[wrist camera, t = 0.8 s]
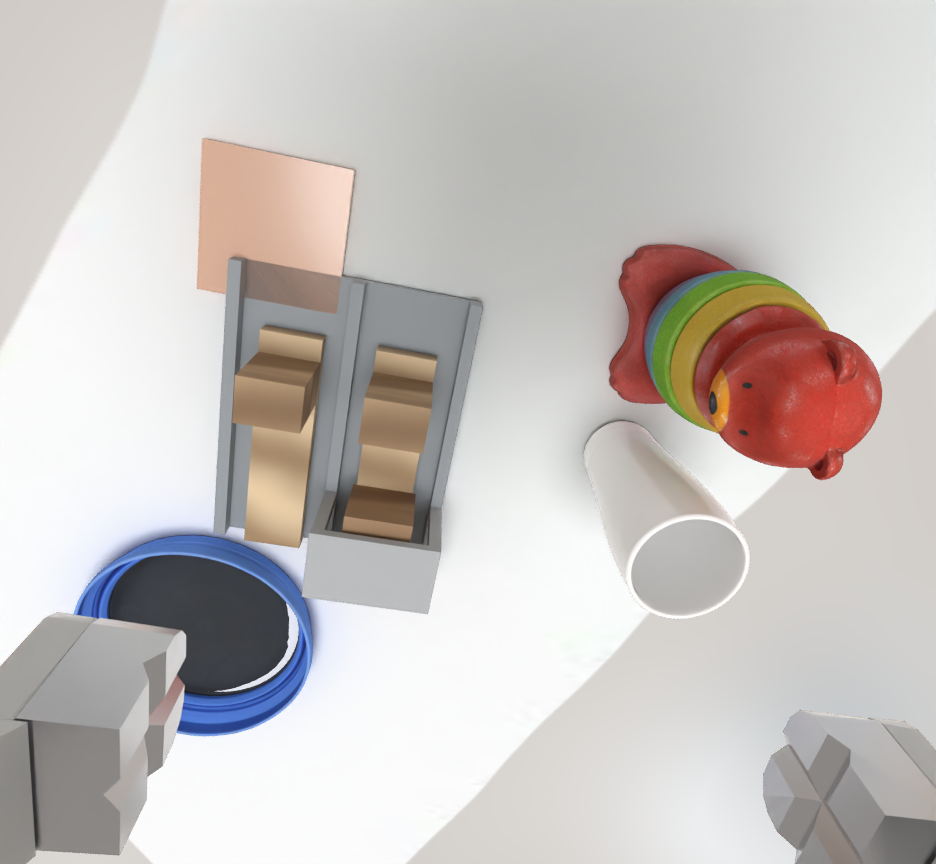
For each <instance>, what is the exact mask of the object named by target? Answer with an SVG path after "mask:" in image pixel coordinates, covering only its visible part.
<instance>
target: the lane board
mask: <svg viewBox="0 0 936 864" xmlns="http://www.w3.org/2000/svg"><path fill="white" fill-rule="evenodd" d="M248 260H249V261H250V259H248ZM248 260H247V259H246V258H241V257H235V256H233V257H231V258H229V259H228V270H227V289H226V308H225V327H224V346H223V365H222V383H221V402H220V421H219V440H218V459H217V478H216V497H215V516H214V533H215V534H222V535H225V533H226V532H227V530H228V528H229V527H230V526H231V527H238V528H245V523H246V510H247V496H248V483H249V469H250V456H251V443H252V429H253V426H249V425H243V424H237V423H232V417H233V401H234V385H235V375H236V374H237V373H238V372H239V371H240V370H241V369H242V368H243V367H244V366H245V365H246V364H247V363H248V362H249V361H250V360H251V359H252V358H253V357H254V356H255V355H256V354H257V353H258V349H259V335H260V329H261V328H262V327H263V326H264V325H267V326H273V327H278V328H284V329H289V330H295V331H300V332H306V333H311V334H317V335H322V336H326V339H325V348H324V356H323V365H322V374H321V382H320V391H319V400H318V408H317V417H316V426H315V435H314V443H313V452H312V461H311V469H310V478H309V487H308V495H307V504H306V513H305V522H304V530H303V537H306V538H309V539H308V547H307V556H306V564H305V573H304V581H303V589H302V597H306V598H313V599H321V600H328V601H335V602H343V603H350V604H357V605H364V606H372V607H379V608H386V609H394V610H401V611H408V612H415V613H423V614H428V612H429V607H430V602H431V598H432V593H433V588H434V584H435V579H436V574H437V569H438V565H439V560H440V555H441V508H442V503H443V498H444V493H445V489H446V484H447V479H448V474H449V469H450V464H451V460H452V455H453V450H454V445H455V440H456V435H457V431H458V426H459V421H460V416H461V411H462V406H463V402H464V397H465V392H466V387H467V382H468V377H469V373H470V368H471V363H472V358H473V353H474V348H475V344H476V339H477V334H478V329H479V324H480V319H481V315H482V310H483V306H482V302H479V301H474V300H469V299H464V298H459V297H453V296H448V295H443V294H438V293H433V292H427V291H422V290H417V289H412V288H406V287H401V286H396V285H391V284H386V283H380V282H375V281H370V280H365V279H359V278H354V277H349V276H344V275H342V276H341V278H340V279H341V281H340V279H339V277H340V276H339V277H337V276H335V275H333V276H334V277H335V279H334V278H333V279H334V280H335V281H336V282H334V283H335V284H336V283H338V285H340V286H338V289H337V287H336V286H337V284H336V285H335V287H336V288H335V289H334V287H332V286H333V285H334V283H333V284H332V283H330V282H327V281H326V282H327V283H328V284H329V283H330V284H329V285H332V286H331V287H332V289H333V290H332V291H333V292H335V290H336V289H337V290H336V291H337V293H339V294H337V295H338V297H339V298H338V301H336V302H338V303H337V304H338V307H337V304H335V303H333V302H332V301H331V303H330V300H331V299H330V298H331V297H330V296H329V294H330V291H331V288H329V289H328V287H330V286H328V285H327V284H326V283H325V282H324V281H322V282H321V280H323V279H324V277H326V276H327V274H326V275H325V276H324V275H323V276H320V275H321V274H320V273H319V272H317V273H318V274H319V275H317V277H316V276H314V277H313V278H311V277H312V276H313V275H311V277H309V278H306V276H307V273H309V272H308V271H307V270H304V272H303V269H301V271H302V272H303V273H304V274H306V276H305V275H304V274H303V273H301V271H300V270H298V271H300V272H298V271H297V272H298V273H301V274H302V278H303V279H304V276H305V278H306V279H304V281H305V282H306V281H307V283H309V282H310V284H309V286H310V288H309V290H308V287H309V286H308V284H307V283H305V282H304V281H303V280H302V278H301V276H300V279H301V280H302V281H303V283H305V284H307V288H306V285H305V284H304V286H305V287H304V288H303V287H302V285H303V283H301V282H300V281H301V280H299V282H300V283H301V284H302V285H300V283H299V284H297V281H298V280H296V281H295V282H296V283H295V282H293V283H295V284H297V286H298V287H299V288H298V290H299V289H300V287H301V288H302V289H301V291H298V290H295V293H294V291H293V290H294V289H293V288H295V287H296V286H295V285H293V284H292V283H291V282H292V281H294V280H295V279H297V278H296V277H297V275H298V277H299V274H298V273H297V272H295V270H293V269H294V268H293V269H291V268H292V267H291V268H290V267H288V266H287V269H288V268H289V270H291V271H293V272H292V273H294V272H295V273H297V275H296V274H295V273H294V274H295V275H296V277H294V276H293V275H294V274H292V273H290V272H291V271H286V272H285V273H287V274H288V273H289V275H288V279H290V278H291V277H292V278H291V280H292V279H293V277H294V280H292V281H291V280H289V281H288V282H289V283H290V285H288V284H289V283H288V282H287V283H288V284H287V283H285V282H286V280H287V279H286V278H287V277H284V276H283V277H284V278H283V277H282V275H283V274H285V273H283V270H284V268H285V269H286V266H285V267H284V266H283V267H284V268H283V267H281V265H280V268H279V266H278V265H277V264H276V265H277V266H276V268H277V267H278V268H279V269H280V270H279V269H278V268H277V269H278V270H277V269H273V268H274V266H275V264H274V265H272V264H271V263H268V265H269V266H270V268H269V267H267V266H268V265H267V264H266V263H267V262H262V263H260V262H259V261H255V260H254V264H255V262H257V263H256V266H257V264H259V263H260V264H259V265H258V266H257V267H256V266H255V265H254V266H252V263H251V262H249V261H248ZM251 261H253V260H251ZM247 262H248V263H247ZM258 262H259V263H258ZM246 263H247V264H246ZM250 263H251V265H250ZM261 264H262V265H261ZM263 264H264V266H265V267H266V268H265V269H264V268H262V267H263ZM265 264H266V265H265ZM270 264H271V265H270ZM247 265H248V266H247ZM249 265H250V267H249ZM246 266H247V267H246ZM260 266H261V268H262V269H263V272H264V270H265V271H266V270H267V269H269V270H271V268H272V269H273V270H271V272H273V271H275V273H274V272H273V273H274V277H275V275H277V276H276V277H277V279H279V278H280V279H279V280H281V281H280V282H279V281H278V280H277V279H276V277H275V278H273V276H272V277H271V275H270V276H269V277H270V279H271V278H273V279H272V280H274V281H273V282H274V284H276V285H277V284H278V285H279V286H280V288H279V286H278V285H277V286H278V288H279V289H280V290H284V289H285V288H284V286H285V287H286V284H287V286H288V288H289V289H288V290H290V291H287V289H285V290H284V291H285V292H284V291H281V294H282V295H281V294H280V293H278V294H276V292H278V291H277V286H275V285H274V284H273V282H272V283H270V282H271V281H272V280H270V279H269V280H268V279H267V278H268V276H267V275H269V274H268V272H269V273H270V271H269V270H267V271H266V274H265V275H266V276H265V277H267V278H266V279H264V278H265V277H264V273H265V272H264V273H263V272H260V270H261V271H262V269H261V268H260ZM271 266H272V267H271ZM252 267H253V268H252ZM255 267H256V268H258V267H259V268H258V269H259V270H258V273H259V272H260V273H261V275H260V273H259V274H258V275H257V269H254V268H255ZM246 268H247V269H249V268H250V270H248V271H249V272H250V273H251V274H250V273H249V274H248V275H249V279H248V275H246V274H247V273H248V271H247V270H246ZM281 268H282V269H283V270H282V269H281ZM251 269H252V271H253V272H251ZM254 270H255V271H256V272H255V271H254ZM296 270H297V268H296ZM246 271H247V273H246ZM278 271H279V273H280V274H281V271H282V273H283V274H281V275H280V277H278V276H279V274H277V272H278ZM284 271H285V270H284ZM306 271H307V272H306ZM254 272H255V273H256V275H257V277H258V276H259V277H258V278H257V279H259V278H260V276H261V278H260V281H259V280H257V279H256V276H255V273H254ZM252 273H253V274H252ZM262 273H263V275H262ZM273 273H270V274H272V275H273ZM317 273H316V274H317ZM287 274H285V276H286V275H287ZM290 274H292V275H291V276H290ZM301 274H300V275H301ZM311 274H314V273H313V271H312V273H311ZM316 274H315V275H316ZM322 274H323V273H322ZM251 275H253V276H252V277H253V278H252V277H251ZM328 275H329V274H328ZM318 276H320V278H322V277H323V279H321V280H320V281H319V279H320V278H319V277H318ZM333 276H332V277H333ZM250 277H251V278H250ZM254 277H255V278H254ZM262 277H263V279H264V280H265V281H266V282H267V280H268V282H267V284H269V283H270V284H269V286H270V285H271V286H270V287H271V289H272V290H273V291H275V292H274V293H275V295H276V296H274V295H272V296H270V294H272V292H273V291H272V290H271V291H269V290H270V288H268V287H269V286H268V287H266V286H267V284H265V285H264V283H262V282H261V281H263V280H262ZM315 277H316V278H315ZM328 277H330V275H329V276H327V279H328V281H329V278H328ZM332 277H330V278H331V279H332ZM336 277H337V278H336ZM282 278H283V279H284V280H285V279H286V280H285V281H284V282H283V279H282ZM310 278H311V280H312V279H313V280H312V281H309V280H308V279H310ZM317 278H318V279H317ZM245 279H246V280H245ZM251 279H252V280H253V279H254V281H252V280H251ZM275 279H276V280H277V282H276V281H275ZM298 279H299V278H298ZM314 279H317V280H318V281H317V280H316V282H317V283H319V282H321V283H320V284H321V285H322V286H323V287H322V288H324V287H326V289H327V292H328V293H329V294H328V296H326V297H325V298H327V297H328V298H327V299H329V301H328V302H327V299H325V298H324V296H325V295H327V292H326V294H324V293H325V292H323V290H324V291H325V288H324V289H323V290H322V289H321V288H320V289H321V290H322V292H323V296H322V292H321V290H320V289H319V290H318V291H317V289H318V286H321V285H319V284H318V285H317V289H316V288H315V287H314V283H315V282H313V281H314ZM325 279H326V278H325ZM325 279H324V280H325ZM327 279H326V280H327ZM333 279H332V280H333ZM338 279H339V280H338ZM248 280H249V282H250V281H251V282H250V284H251V283H252V284H253V285H254V286H259V285H260V284H261V285H263V286H261V285H260V287H261V288H262V289H261V290H260V287H256V288H255V287H254V286H253V285H252V284H251V286H252V287H251V286H249V285H250V284H249V283H248ZM256 280H257V281H256ZM332 280H330V281H331V282H332ZM290 281H291V282H290ZM308 281H309V282H308ZM338 281H339V282H338ZM253 282H255V284H254V283H253ZM257 282H258V283H260V284H258V283H257ZM263 282H264V281H263ZM266 282H265V283H266ZM275 282H276V283H275ZM278 282H279V283H278ZM281 282H283V283H281ZM311 282H312V283H313V284H311ZM323 282H324V283H323ZM246 283H247V284H248V285H247V284H246ZM280 283H281V284H282V286H281V284H280ZM284 283H285V284H284ZM317 283H316V284H317ZM322 283H323V284H325V286H324V285H323V284H322ZM339 283H340V284H339ZM257 284H258V285H257ZM272 284H273V285H274V286H275V287H276V288H275V287H273V285H272ZM291 284H292V285H291ZM316 284H315V286H316ZM326 285H327V286H326ZM248 286H249V287H248ZM291 286H292V287H291ZM311 286H312V287H314V288H315V290H313V292H310V289H311V288H312V287H311ZM250 287H251V288H252V289H253V288H254V289H255V290H256V291H258V292H259V294H257V292H256V291H255V290H254V289H253V290H251V289H250ZM264 287H265V289H264ZM272 287H273V288H275V289H273V288H272ZM281 287H282V288H281ZM245 288H246V289H245ZM267 288H268V291H267V290H266V289H267ZM283 288H284V289H283ZM305 288H306V289H307V293H306V292H305V293H306V295H305V296H306V299H307V298H308V297H309V296H310V295H312V296H313V294H309V295H308V291H309V293H314V292H315V291H317V292H319V291H320V292H321V295H319V293H318V294H317V295H319V296H322V298H323V300H324V299H325V300H326V302H327V303H328V306H329V305H330V304H331V306H329V307H332V305H333V307H332V308H330V310H331V309H333V311H334V309H335V308H336V307H337V309H336V311H337V313H336V314H333V313H334V312H333V311H332V310H331V311H332V312H333V313H332V314H331V311H330V310H329V309H328V310H329V311H330V312H329V313H327V312H328V310H327V309H323V308H324V307H323V306H322V307H323V308H320V307H321V305H320V304H318V302H319V303H321V300H320V298H321V297H320V298H319V299H318V297H319V296H317V295H315V296H314V297H313V299H314V298H316V296H317V299H318V300H320V301H318V300H316V299H315V300H316V302H317V301H318V302H317V303H316V302H315V300H314V301H313V299H311V300H312V301H310V300H309V298H310V297H309V298H308V300H306V299H305V301H306V302H307V303H308V302H309V303H308V305H307V304H305V301H304V302H303V301H302V299H303V300H304V297H305V296H304V297H303V295H304V294H305V293H304V291H305V290H306V289H305ZM314 288H312V289H314ZM339 288H340V290H339ZM249 289H250V290H251V292H248V291H250V290H249ZM263 289H264V290H265V293H264V292H263V291H264V290H263ZM292 289H293V290H292ZM303 289H305V290H304V291H303V292H302V290H303ZM262 290H263V291H262ZM328 290H329V291H328ZM338 290H339V291H338ZM246 291H247V292H248V293H249V294H250V293H251V294H250V295H247V294H248V293H247V294H246ZM260 291H262V292H263V293H262V292H261V293H262V295H260V294H261V293H260ZM286 291H287V292H289V294H290V292H291V291H292V292H291V293H293V294H292V295H294V294H295V295H294V297H292V298H290V297H291V296H292V295H291V294H290V295H291V296H290V295H289V294H288V293H286ZM297 291H298V292H297ZM332 291H331V294H332V295H334V294H335V296H334V297H336V296H337V295H336V293H333V292H332ZM252 292H253V293H252ZM255 292H256V294H257V295H260V296H258V297H257V295H256V294H255ZM266 292H267V293H266ZM269 292H270V294H269V296H270V298H271V297H272V299H273V300H274V301H275V300H276V302H277V301H278V303H273V302H274V301H273V300H272V299H271V300H272V301H273V302H272V301H271V300H270V298H266V297H269V296H268V295H266V294H268V293H269ZM282 292H283V293H284V294H285V293H286V294H285V295H287V296H286V297H287V299H288V296H289V300H290V299H292V301H294V302H293V303H292V304H291V303H289V300H288V304H287V300H286V302H285V299H286V297H285V298H284V296H283V293H282ZM296 292H297V294H296ZM317 292H315V293H317ZM274 293H273V294H274ZM302 293H304V294H302ZM315 293H314V294H315ZM245 294H246V295H247V298H245V297H246V296H245ZM253 294H255V296H254V295H253ZM263 294H264V297H265V296H266V297H265V299H262V298H264V297H263ZM279 294H280V296H278V297H280V299H281V297H282V296H283V297H282V298H283V299H281V300H280V299H274V297H275V298H277V295H279ZM298 294H299V296H300V294H301V296H300V297H303V298H302V299H301V300H300V299H299V298H298V299H297V297H298V296H297V295H298ZM251 295H253V296H251ZM307 295H308V296H307ZM261 296H262V298H261ZM295 296H297V297H295ZM251 297H252V298H253V299H252V298H251ZM254 297H257V298H255V299H254ZM259 297H260V298H261V299H262V300H267V302H266V301H262V300H261V299H260V298H259ZM332 297H333V296H332ZM293 298H296V299H297V300H295V299H294V300H293ZM311 298H312V297H311ZM322 298H321V299H322ZM258 299H259V300H258ZM268 300H270V301H271V302H268ZM279 300H280V302H281V301H283V302H282V303H281V304H279V303H280V302H279ZM332 300H333V298H332ZM336 300H337V298H336ZM292 301H290V302H292ZM296 301H298V302H299V304H297V303H296ZM301 301H302V304H303V307H304V306H305V305H307V306H309V305H310V303H311V305H310V307H308V308H309V309H308V308H307V309H306V308H305V307H306V306H305V307H304V308H305V309H304V308H303V307H301V306H302V304H301ZM333 301H335V300H333ZM326 302H324V301H322V303H324V306H325V305H326V306H325V307H327V308H329V307H328V306H327V304H326ZM283 303H285V305H284V304H283ZM294 303H295V304H294ZM332 303H333V304H332ZM286 304H287V305H286ZM290 304H291V305H290ZM293 304H294V305H293ZM300 304H301V305H300ZM312 304H314V305H313V306H314V308H315V307H316V308H315V310H314V309H313V310H312V309H310V308H311V307H312ZM316 304H318V305H319V307H318V306H317V305H316ZM289 305H290V306H289ZM295 305H297V306H298V307H297V306H296V307H295ZM322 305H323V304H322ZM335 305H336V307H335ZM334 307H335V308H334ZM317 308H318V309H319V308H320V309H319V310H317V311H316V309H317ZM321 309H323V310H324V311H323V310H321ZM336 311H335V312H336ZM378 346H383V347H389V348H394V349H400V350H405V351H411V352H416V353H422V354H427V355H433V356H437V363H436V369H435V374H434V379H433V390H432V409H431V415H430V420H429V425H428V431H427V436H426V441H425V447H424V452H423V454H420V455H419V460H418V466H417V471H416V476H415V482H414V487H413V493H414V494H416V498H415V509H414V521H413V529H412V535H411V540H410V543H408V542H401V541H394V540H388V539H381V538H374V537H368V536H361V535H354V534H347V533H342V528H343V521H344V515H345V511H346V508H347V504H348V501H349V497H350V494H351V490H352V487H353V484H357V480H358V473H359V466H360V459H361V452H362V446H363V444H359V443H358V440H359V433H360V426H361V419H362V413H363V406H364V399H365V395H366V392H367V389H368V386H369V383H370V380H371V377H372V374H373V371H374V364H375V357H376V350H377V348H378Z"/></svg>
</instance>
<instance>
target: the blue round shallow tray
mask: <svg viewBox="0 0 936 864" xmlns="http://www.w3.org/2000/svg"><path fill="white" fill-rule="evenodd" d="M286 603H287V604H288V605H289V606H290V608H291V609H292V610H293V612H294V613H295V615H296V617H297V619H298V625H299V636H298V641H297V644H296V648H295V650H294V652H293V654H292V656H291V658H290V660H289V661H288V662H287V664H285V666H284V667H283V668H282V669H281V670H280V671H279V672H278V673H277V674H275V675H274V676H273V677H271V678H270V679H268V680H267V681H264V682H263V683H261V684H259V685H256V686H253V687H250V688H246V689H243V690H238V691H231V692H214V691H217V690H219V691H221V690H226V689H232V688H236V687H238V686H241V685H244V684H247V683H250V682H252V681H255V680H257V679H258V678H260V677H262V676H264V675H266V674H268V673H269V672H270V671H271V670H272V669H274V668H275V667H276V666H277V665H278V663H279V662H280V661H281V660H282V658H283V657H284V655H285V653H286V650H287V648H288V644H287V641H288V638H289V635H288V632H289V616H288V611H287V606H286ZM74 615H80V616H86V617H93V618H97V619H100V618H105V619H111V620H118V621H124V622H131V623H137V624H144V625H150V626H157V627H164V628H170V629H177V630H182V631H183V632H184V633H185V634H186V658H185V660H184V661H183V663H182V665H181V667H180V669H179V671H178V673H177V676H178V677H179V678H180V680H181V681H182V682H183V684H184V685H185V687H184V702H183V707H182V713H181V719H180V722H179V725H178V729H177V732H176V733H180V734H185V735H193V736H218V735H227V734H233V733H238V732H241V731H245V730H248V729H251V728H254V727H256V726H258V725H260V724H262V723H264V722H266V721H268V720H270V719H271V718H273V717H275V716H276V715H277V714H279V713H280V712H281V711H283V710H284V709H285V708H286V707H287V706H288V705H289V704H290V703H291V702H292V701H293V700H294V699H295V698H296V697H297V695H298V694H299V692H300V691H301V689H302V687H303V686H304V684H305V681H306V679H307V676H308V673H309V670H310V666H311V662H312V653H313V645H312V634H311V628H310V619H309V614H308V610H307V607H306V604H305V602H304V599H303V597H302V596H301V594H300V592H299V590H298V589H297V587H296V586H295V584H294V583H293V582H292V580H291V579H290V578H289V577H288V576H287V575H286V574H285V573H284V572H283V571H282V570H281V569H280V568H279V567H278V566H277V565H275V564H274V563H273V562H271V561H270V560H268V559H267V558H265V557H264V556H262V555H261V554H259V553H257V552H255V551H253V550H251V549H249V548H247V547H244V546H242V545H239V544H237V543H234V542H230V541H227V540H223V539H219V538H214V537H207V536H195V535H186V536H173V537H167V538H162V539H158V540H154V541H151V542H148V543H146V544H143V545H141V546H139V547H137V548H135V549H134V550H132V551H130V552H129V553H127V554H126V555H124V556H122V557H120V558H119V559H117V560H115V561H114V562H113V563H111V564H109V565H108V566H107V567H105V568H104V569H103V570H101V571H100V572H99V573H98V574H97V575H96V576H95V577H94V578H93V579H92V581H91V582H90V583H89V584H88V586H87V587H86V589H85V590H84V592H83V594H82V595H81V597H80V599H79V601H78V603H77V605H76V608H75V612H74ZM208 691H209V692H208Z"/></svg>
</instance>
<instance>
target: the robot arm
mask: <svg viewBox="0 0 936 864" xmlns="http://www.w3.org/2000/svg"><path fill="white" fill-rule="evenodd" d="M185 658H186V634H185V633H184V632H183V631H182V630H177V629H170V628H164V627H157V626H150V625H144V624H137V623H131V622H124V621H118V620H111V619H105V618H100V619H97V618H93V617H86V616H80V615H73V614H66V613H60V612H57V613H54V614H52V615H50V616H48V617H46V618H45V619H43V620H42V622H41V623H40V624H39V625H38V626H37V627H36V628H35V629H34V630H33V631H32V632H31V634H30V635H29V636H28V637H27V638H26V639H25V640H24V641H23V642H22V643H21V644H20V646H19V647H18V648H17V649H16V650H15V651H14V652H13V653H12V654H11V655H10V656H9V658H8V659H7V660H6V661H5V662H4V663H3V664H2V665H1V666H0V864H26V863H27V862H29V861H30V860H31V859H32V858H33V857H35V855H36V850H41V851H58V852H73V853H90V854H106V855H120V854H121V852H122V849H123V847H124V845H125V843H126V841H127V839H128V837H129V835H130V833H131V831H132V829H133V827H134V825H135V823H136V821H137V818H138V816H139V814H140V812H141V810H142V808H143V806H144V804H145V802H146V799H147V777H148V776H149V775H151V774H152V773H153V772H155V771H156V770H158V769H159V768H161V767H162V766H163V764H164V762H165V760H166V758H167V755H168V753H169V751H170V749H171V747H172V744H173V741H174V738H175V735H176V732H177V729H178V725H179V722H180V719H181V713H182V707H183V702H184V687H185V685H184V684H183V682H182V681H181V680H180V678H179V677H178V676H177V673H178V671H179V669H180V667H181V665H182V663H183V661H184V660H185ZM783 732H784V735H785V738H786V741H787V745H786V746H785V747H783V748H782V749H780V750H779V751H777V752H776V753H774V754H773V755H772V756H771V757H770V760H769V762H768V765H767V767H766V769H765V772H764V774H763V796H764V800H765V804H766V808H767V812H768V814H769V816H770V818H771V820H772V822H773V824H774V826H775V828H776V830H777V832H778V833H779V834H780V835H781V836H782V837H784V838H785V839H786V840H787V841H788V842H789V843H790V844H791V845H793V847H795V848H796V849H797V851H796V858H795V864H936V750H935V749H934V748H933V746H932V745H931V744H930V743H929V742H928V741H927V740H926V738H925V737H924V736H923V735H922V734H921V733H920V732H919V730H917V729H916V728H914V727H913V726H911V725H909V724H908V723H906V722H904V721H896V720H886V719H876V718H862V717H854V716H846V715H837V714H828V713H821V712H812V711H804V710H799V711H798V712H797V713H795V714H794V715H793V716H791V717H790V719H789V721H788V722H787V725H786V727H785V728H784V730H783Z"/></svg>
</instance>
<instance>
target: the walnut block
mask: <svg viewBox="0 0 936 864" xmlns="http://www.w3.org/2000/svg"><path fill="white" fill-rule="evenodd" d="M415 498H416V494H414V493H407V492H401V491H395V490H388V489H382V488H376V487H369V486H363V485H357V484H353V487H352V490H351V494H350V497H349V501H348V504H347V508H346V511H345V515H344V521H343V528H342V533H347V534H354V535H361V536H368V537H374V538H381V539H388V540H394V541H401V542H408V543H410V540H411V535H412V529H413V521H414V509H415Z"/></svg>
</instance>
